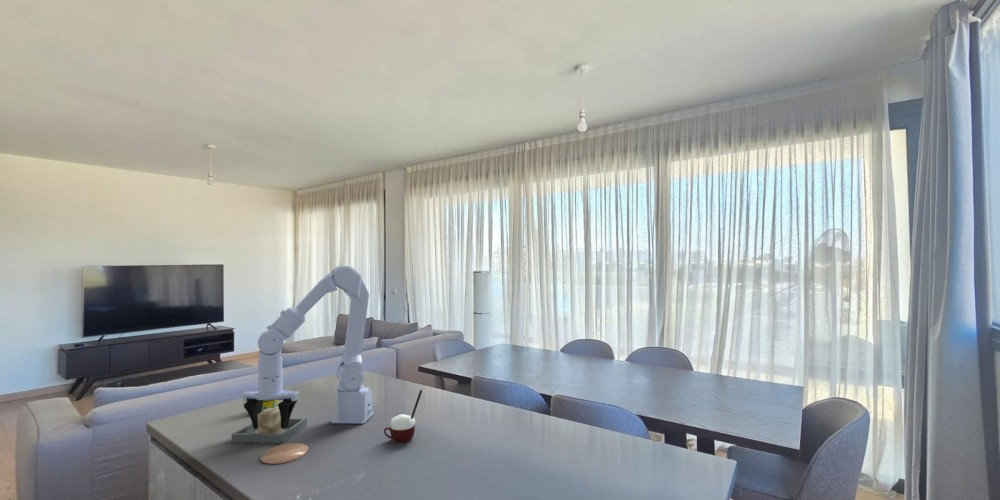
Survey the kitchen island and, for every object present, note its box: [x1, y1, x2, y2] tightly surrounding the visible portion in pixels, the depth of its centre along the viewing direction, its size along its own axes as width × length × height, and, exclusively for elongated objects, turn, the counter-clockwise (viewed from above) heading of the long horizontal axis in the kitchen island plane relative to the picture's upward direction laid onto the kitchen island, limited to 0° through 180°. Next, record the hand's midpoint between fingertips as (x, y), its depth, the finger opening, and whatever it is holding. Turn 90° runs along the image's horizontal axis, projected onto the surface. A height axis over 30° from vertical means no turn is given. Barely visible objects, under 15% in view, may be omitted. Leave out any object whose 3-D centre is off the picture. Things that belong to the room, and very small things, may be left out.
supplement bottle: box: [257, 387, 279, 412], centre depth 135 cm, size 5×5×10 cm
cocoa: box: [383, 389, 423, 444], centre depth 109 cm, size 10×6×12 cm, turn 79°
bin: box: [231, 417, 308, 444], centre depth 115 cm, size 14×12×2 cm
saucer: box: [260, 442, 309, 465], centre depth 102 cm, size 10×10×1 cm
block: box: [257, 407, 285, 434], centre depth 115 cm, size 4×5×6 cm
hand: (271, 427), depth 115 cm, fingers open, 7 cm apart
